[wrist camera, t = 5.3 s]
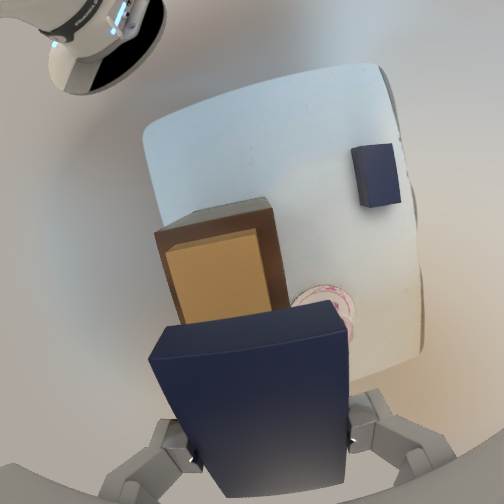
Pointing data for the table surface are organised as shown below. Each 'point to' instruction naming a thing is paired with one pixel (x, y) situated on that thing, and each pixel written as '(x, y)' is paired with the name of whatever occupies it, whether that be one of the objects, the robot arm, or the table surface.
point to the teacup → (337, 298)
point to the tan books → (219, 277)
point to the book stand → (226, 222)
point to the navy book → (262, 397)
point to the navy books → (376, 175)
